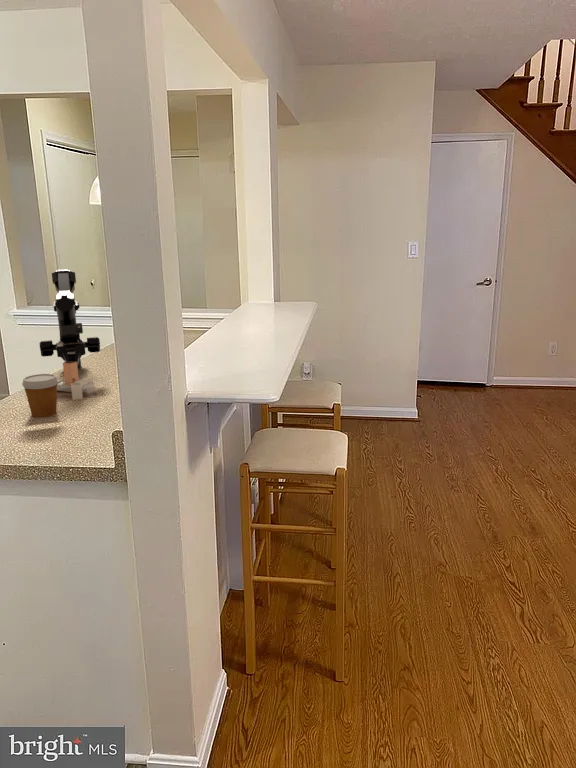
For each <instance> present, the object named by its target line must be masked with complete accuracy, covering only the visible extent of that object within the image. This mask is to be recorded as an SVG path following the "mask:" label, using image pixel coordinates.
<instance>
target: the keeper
mask: <svg viewBox="0 0 576 768" xmlns="http://www.w3.org/2000/svg"><path fill="white" fill-rule="evenodd" d="M88 379H89V378H79V380H78V381H76V382H75V383H71V391H72V399H73V400H72V401H77V400H76V399H79V400H84V399H83V396H82V386H84V385H85V384H87V383H88Z"/></svg>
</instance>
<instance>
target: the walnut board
mask: <svg viewBox="0 0 576 768" xmlns="http://www.w3.org/2000/svg"><path fill="white" fill-rule="evenodd" d="M87 379H88V383H87V384H85V385H87V391H86V392H83V393H82V396H83V399H82V400H86V399H94V398H95V399H97V398H98V394H97V391H96V386H95V383H94V381H93V378H87ZM77 400H78V401H79V400H80V399H76V400H75V401H77ZM67 401H68V402H69V401H74V400H73V399H72V392H65V391H60V392H57V403H60V402H67Z"/></svg>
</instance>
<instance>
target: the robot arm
mask: <svg viewBox="0 0 576 768" xmlns="http://www.w3.org/2000/svg"><path fill="white" fill-rule="evenodd" d="M76 276H77V275H76V272H74V271H71V270H70V269H57V270H55V271H54V272H52V273H51V279H52V285H54V287H55V291H56V292H57V294H56V295H55V301H53V311H54V312H56V314H57V315H56V316H57V321H58V329H59V340H58V341H57V342H56V343H55V344H53V340H52V339H51V340H50V339H49V340H41V341H40V342H39V351H40V355H41V357H44V358H45V357H52V356H53V355H54V353H55V351H56V354H57V358H61V359H62V360H63V361H64V362H67V361H77V368H78V370H79V369H82V368H83V366H82V361H81V357H82V356H84V355H86V349H87V352H88V353H99V352H101V341H100V338H99V337H98V336H92V337H86V341H83V338H81V337H80V334H83V333H84V329H83V324H82V323H83V322H79V323H77V317H76V314H77V311H79V309H80V303H79V302H78V300H76V298H75V294H74V292H75V290H76V286H75V284H77V280H76V279H77V278H76Z"/></svg>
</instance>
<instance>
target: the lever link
mask: <svg viewBox="0 0 576 768" xmlns="http://www.w3.org/2000/svg"><path fill="white" fill-rule="evenodd" d="M62 368H63V376H64V377H63V378H64V381H60V380H58V383H57V391H65V392H72V391H71V383H75V382H76V381H78V380H79V379H80V378H79V369H78V368H77V361H67V362H65V361H64V362H62ZM86 391H87V385H84V386H82V393H83V392H86Z"/></svg>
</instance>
